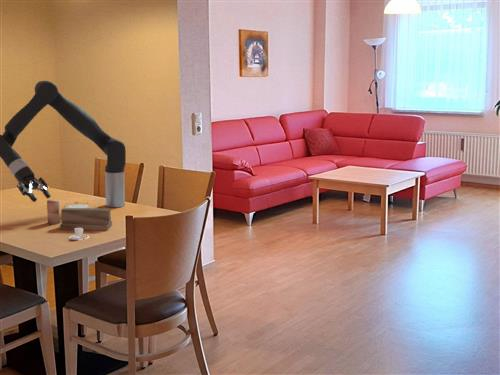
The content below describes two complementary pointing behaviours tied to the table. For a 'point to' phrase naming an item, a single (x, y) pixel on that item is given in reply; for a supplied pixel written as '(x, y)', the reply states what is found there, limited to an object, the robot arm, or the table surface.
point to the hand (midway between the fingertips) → (42, 199)
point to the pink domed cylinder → (53, 211)
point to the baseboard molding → (77, 206)
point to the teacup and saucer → (77, 234)
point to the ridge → (86, 218)
